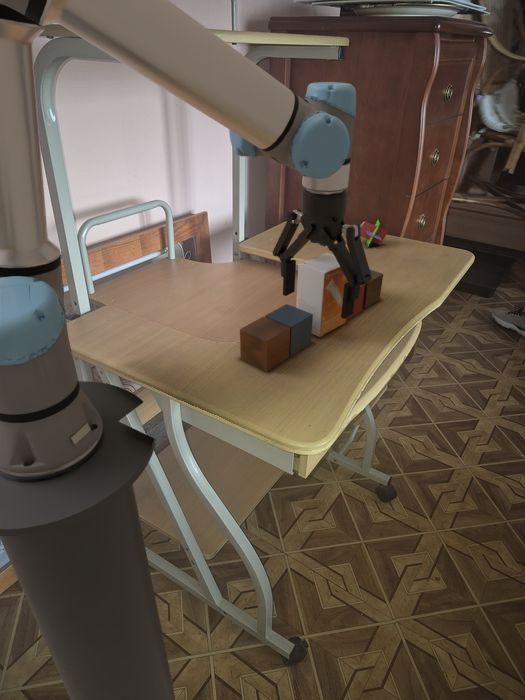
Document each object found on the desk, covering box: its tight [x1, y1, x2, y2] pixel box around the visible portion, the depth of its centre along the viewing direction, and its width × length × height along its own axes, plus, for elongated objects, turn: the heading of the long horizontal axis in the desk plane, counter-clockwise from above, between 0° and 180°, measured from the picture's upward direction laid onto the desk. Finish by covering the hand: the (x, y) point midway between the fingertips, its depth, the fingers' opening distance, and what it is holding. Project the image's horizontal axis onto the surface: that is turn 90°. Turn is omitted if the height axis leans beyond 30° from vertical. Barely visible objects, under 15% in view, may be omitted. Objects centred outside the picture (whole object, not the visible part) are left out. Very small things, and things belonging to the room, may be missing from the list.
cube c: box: [345, 284, 365, 322], centre depth 100 cm, size 6×6×6 cm
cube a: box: [239, 315, 290, 373], centre depth 85 cm, size 6×6×6 cm
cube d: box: [362, 269, 384, 310], centre depth 104 cm, size 6×6×6 cm
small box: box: [295, 252, 348, 338], centre depth 93 cm, size 8×6×13 cm
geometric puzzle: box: [359, 218, 389, 247], centre depth 132 cm, size 7×7×8 cm
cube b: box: [264, 303, 313, 357], centre depth 89 cm, size 6×6×6 cm
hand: (316, 304), depth 93 cm, fingers open, 13 cm apart
